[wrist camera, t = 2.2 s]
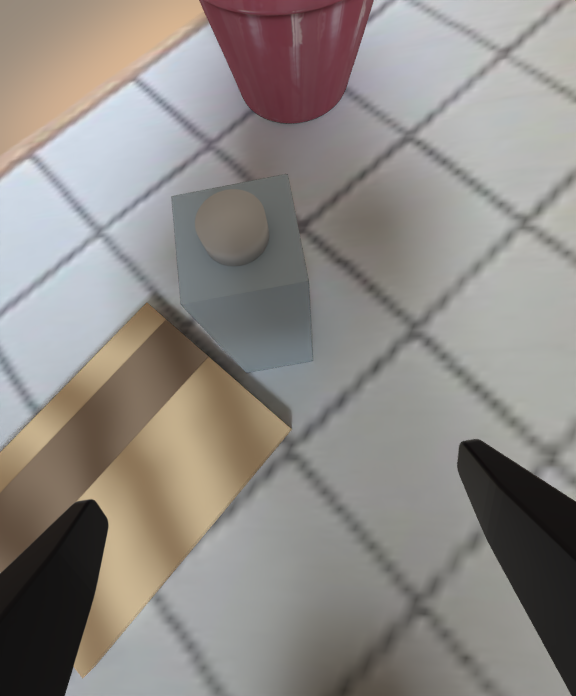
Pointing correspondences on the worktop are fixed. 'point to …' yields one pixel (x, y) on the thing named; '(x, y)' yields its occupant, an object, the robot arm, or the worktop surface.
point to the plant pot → (289, 51)
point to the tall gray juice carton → (245, 271)
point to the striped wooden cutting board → (135, 464)
